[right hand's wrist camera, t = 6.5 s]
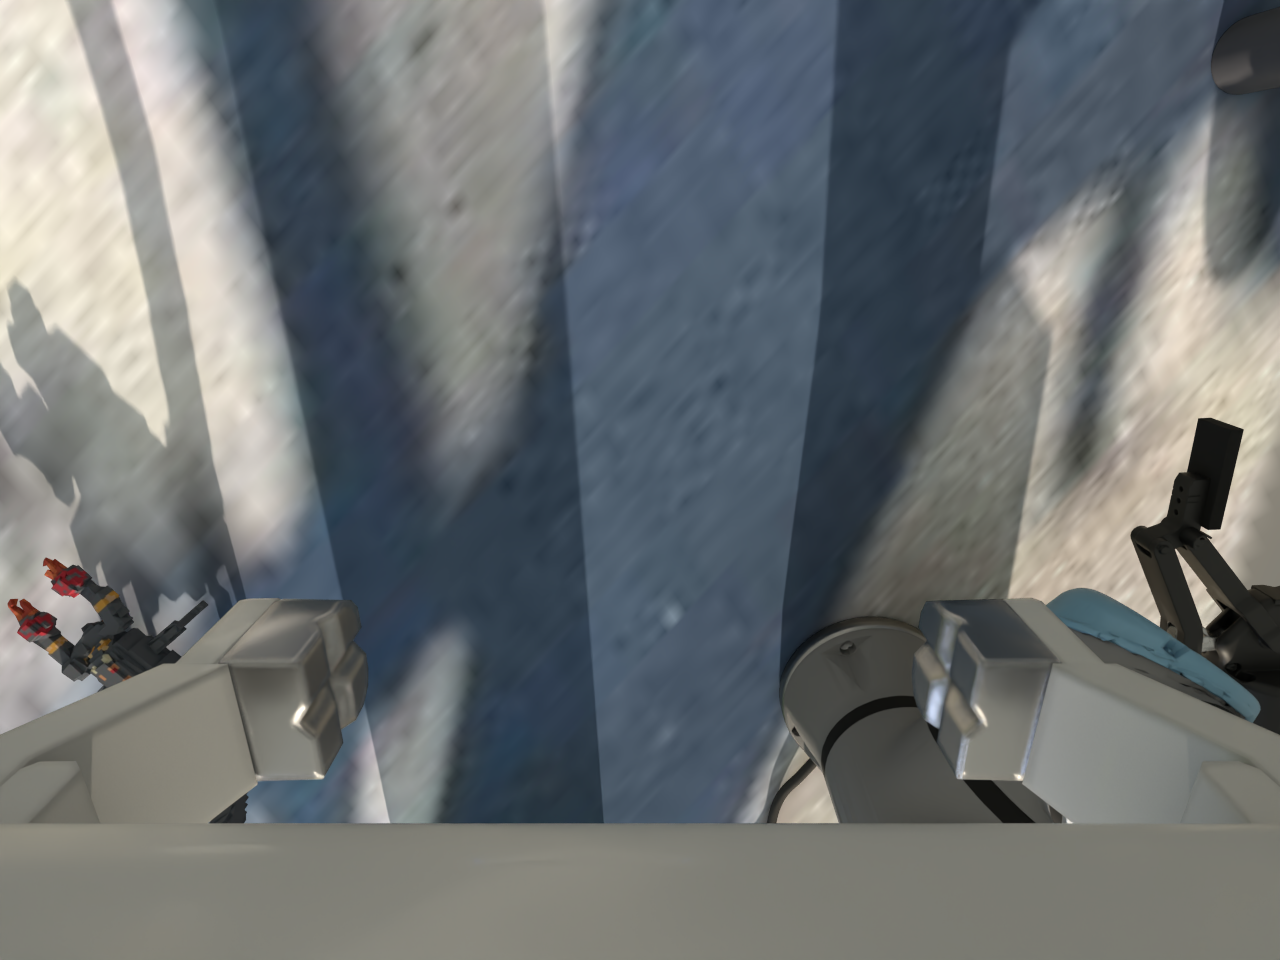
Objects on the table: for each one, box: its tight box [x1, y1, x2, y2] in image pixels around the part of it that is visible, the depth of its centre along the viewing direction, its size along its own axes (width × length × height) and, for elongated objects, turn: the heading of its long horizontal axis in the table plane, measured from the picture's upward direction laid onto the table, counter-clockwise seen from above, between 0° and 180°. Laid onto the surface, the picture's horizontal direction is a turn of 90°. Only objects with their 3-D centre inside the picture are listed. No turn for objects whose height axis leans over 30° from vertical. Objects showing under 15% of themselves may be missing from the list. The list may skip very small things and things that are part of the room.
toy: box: [8, 558, 248, 823], centre depth 56 cm, size 13×27×18 cm, turn 39°
